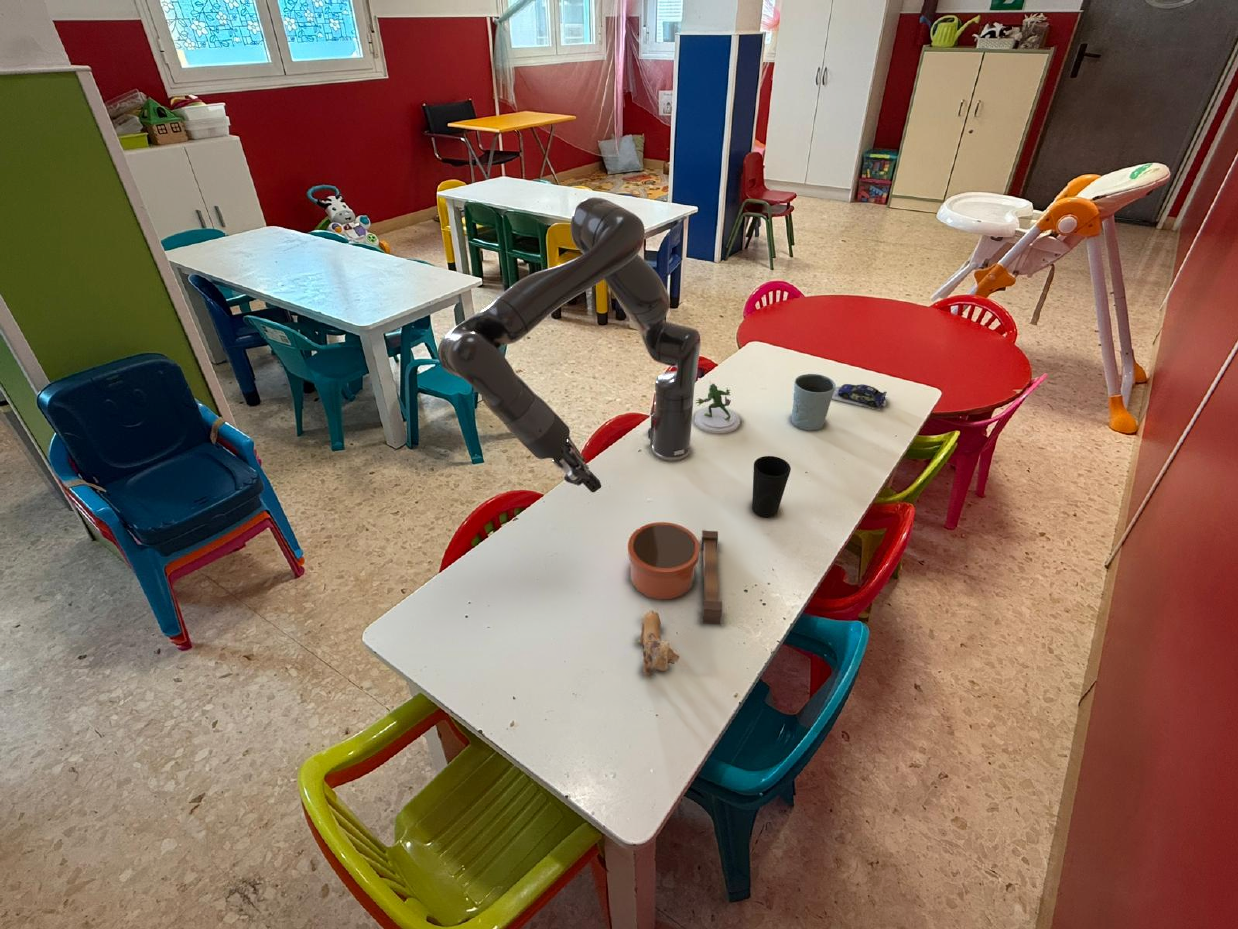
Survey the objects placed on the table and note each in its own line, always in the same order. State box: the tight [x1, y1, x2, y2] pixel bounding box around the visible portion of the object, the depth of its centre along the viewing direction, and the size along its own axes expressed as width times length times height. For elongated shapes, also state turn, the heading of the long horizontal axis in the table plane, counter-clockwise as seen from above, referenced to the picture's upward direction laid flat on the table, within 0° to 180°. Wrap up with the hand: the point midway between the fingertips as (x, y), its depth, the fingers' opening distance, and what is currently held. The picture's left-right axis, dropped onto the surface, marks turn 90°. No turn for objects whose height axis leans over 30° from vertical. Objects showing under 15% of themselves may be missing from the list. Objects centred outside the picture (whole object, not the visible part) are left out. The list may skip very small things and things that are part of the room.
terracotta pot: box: [627, 521, 701, 600], centre depth 122 cm, size 14×14×8 cm
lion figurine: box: [637, 609, 681, 676], centre depth 107 cm, size 15×5×9 cm, turn 13°
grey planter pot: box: [791, 373, 837, 431], centre depth 166 cm, size 10×10×12 cm
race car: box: [831, 383, 888, 411], centre depth 178 cm, size 15×7×4 cm, turn 62°
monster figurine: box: [694, 380, 741, 434], centre depth 167 cm, size 12×12×10 cm
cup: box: [751, 455, 792, 519], centre depth 137 cm, size 8×8×12 cm
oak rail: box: [700, 530, 723, 625], centre depth 122 cm, size 21×3×4 cm, turn 175°
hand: (596, 487), depth 114 cm, fingers closed
